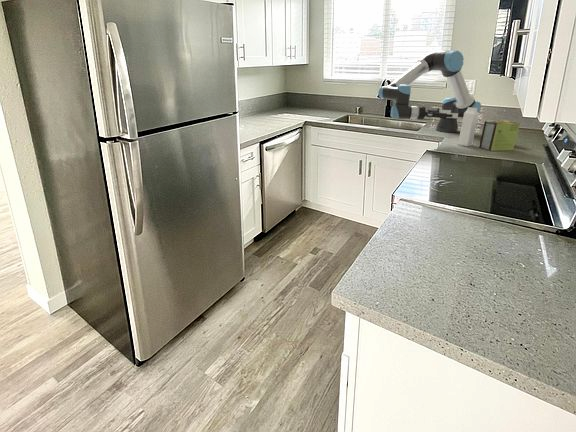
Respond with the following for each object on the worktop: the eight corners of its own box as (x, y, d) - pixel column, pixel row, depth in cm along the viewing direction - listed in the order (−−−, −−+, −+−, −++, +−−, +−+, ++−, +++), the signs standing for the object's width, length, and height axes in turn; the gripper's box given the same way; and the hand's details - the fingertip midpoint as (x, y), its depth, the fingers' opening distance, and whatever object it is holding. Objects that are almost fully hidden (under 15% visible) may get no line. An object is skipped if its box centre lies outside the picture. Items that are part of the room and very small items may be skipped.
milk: (466, 146, 224) (474, 108, 215) (457, 144, 228) (464, 107, 219) (472, 145, 227) (480, 107, 218) (462, 143, 232) (470, 106, 223)
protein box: (513, 150, 216) (520, 123, 210) (490, 151, 213) (496, 123, 207) (500, 146, 225) (507, 120, 219) (478, 147, 222) (484, 120, 216)
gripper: (412, 116, 236) (446, 117, 234) (421, 122, 213) (459, 123, 211) (413, 104, 233) (448, 105, 231) (423, 109, 210) (462, 110, 208)
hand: (453, 114), depth 221 cm, fingers open, 13 cm apart
